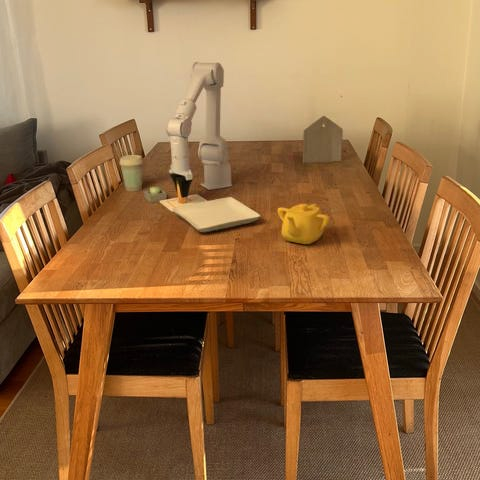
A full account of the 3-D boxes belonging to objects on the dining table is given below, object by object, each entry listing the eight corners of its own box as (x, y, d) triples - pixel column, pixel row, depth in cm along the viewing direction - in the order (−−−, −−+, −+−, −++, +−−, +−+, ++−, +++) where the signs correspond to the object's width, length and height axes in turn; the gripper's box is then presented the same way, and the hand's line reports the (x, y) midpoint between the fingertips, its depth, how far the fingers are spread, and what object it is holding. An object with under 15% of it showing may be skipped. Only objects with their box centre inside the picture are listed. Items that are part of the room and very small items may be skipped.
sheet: (197, 195, 202) (197, 193, 202) (211, 204, 193) (211, 203, 192) (159, 202, 197) (159, 200, 196) (172, 212, 187) (172, 210, 186)
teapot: (332, 247, 157) (334, 211, 153) (286, 251, 155) (287, 215, 152) (317, 229, 170) (318, 196, 166) (275, 233, 168) (275, 199, 164)
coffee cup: (140, 193, 206) (137, 160, 202) (118, 192, 208) (115, 159, 203) (149, 186, 214) (146, 154, 209) (127, 185, 216) (124, 154, 211)
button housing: (160, 195, 204) (160, 188, 203) (166, 199, 199) (166, 192, 198) (144, 198, 201) (144, 191, 200) (150, 202, 196) (149, 195, 195)
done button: (158, 194, 202) (157, 185, 200) (161, 196, 199) (161, 188, 198) (149, 195, 200) (148, 187, 199) (152, 198, 197) (151, 189, 196)
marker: (185, 199, 196) (183, 178, 193) (188, 201, 193) (187, 180, 190) (176, 201, 194) (175, 179, 192) (180, 203, 192) (178, 182, 189)
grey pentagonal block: (337, 157, 249) (339, 111, 242) (341, 161, 241) (343, 115, 234) (299, 158, 248) (300, 113, 241) (303, 163, 241) (304, 116, 233)
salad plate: (198, 238, 166) (198, 227, 165) (171, 217, 183) (171, 207, 182) (262, 225, 175) (262, 214, 173) (231, 206, 192) (230, 196, 191)
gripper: (160, 153, 192) (163, 191, 197) (177, 162, 180) (179, 203, 185) (180, 150, 195) (182, 188, 200) (197, 159, 183) (199, 199, 188)
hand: (182, 195), depth 193 cm, fingers closed on marker, 3 cm apart
